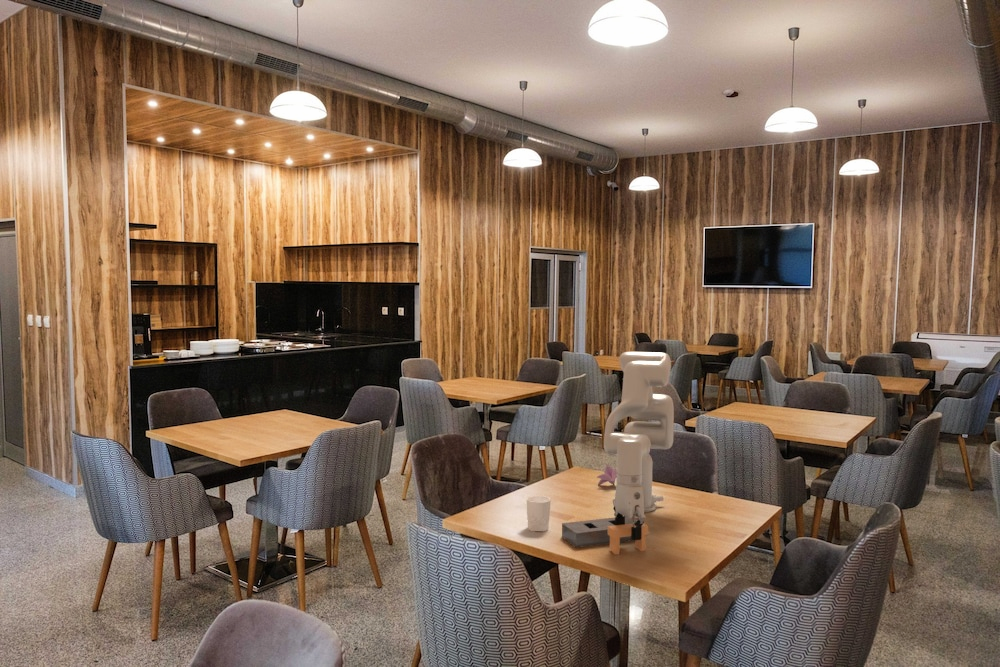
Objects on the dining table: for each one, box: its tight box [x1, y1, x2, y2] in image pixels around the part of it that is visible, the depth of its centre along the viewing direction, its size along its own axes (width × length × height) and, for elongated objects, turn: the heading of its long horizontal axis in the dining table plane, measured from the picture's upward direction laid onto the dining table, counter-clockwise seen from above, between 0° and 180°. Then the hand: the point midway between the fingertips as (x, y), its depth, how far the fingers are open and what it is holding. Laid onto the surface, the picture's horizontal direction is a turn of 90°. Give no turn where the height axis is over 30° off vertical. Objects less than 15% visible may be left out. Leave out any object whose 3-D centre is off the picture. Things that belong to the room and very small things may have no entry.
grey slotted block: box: [561, 516, 637, 548], centre depth 225 cm, size 24×10×4 cm, turn 110°
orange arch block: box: [608, 523, 649, 555], centre depth 214 cm, size 12×4×8 cm, turn 110°
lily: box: [596, 464, 617, 490], centre depth 284 cm, size 12×12×10 cm
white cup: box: [526, 495, 552, 532], centre depth 233 cm, size 8×8×10 cm
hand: (627, 534), depth 214 cm, fingers open, 9 cm apart
